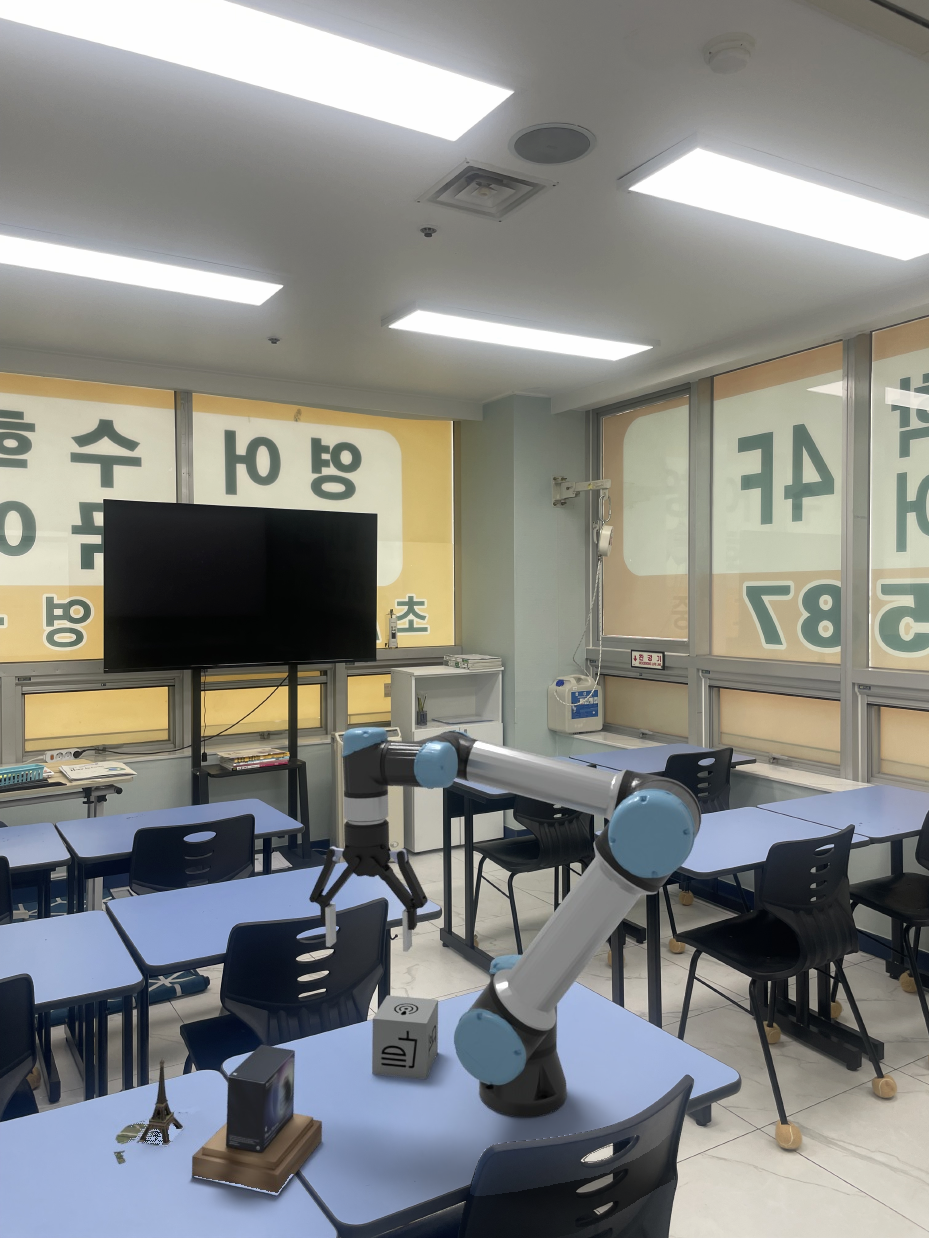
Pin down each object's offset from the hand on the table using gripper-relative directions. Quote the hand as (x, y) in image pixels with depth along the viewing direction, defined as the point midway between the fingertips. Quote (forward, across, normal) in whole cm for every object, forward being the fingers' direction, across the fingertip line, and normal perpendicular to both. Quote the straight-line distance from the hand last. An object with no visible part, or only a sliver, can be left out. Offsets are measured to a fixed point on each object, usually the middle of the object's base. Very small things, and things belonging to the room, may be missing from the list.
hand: (369, 946), depth 146 cm
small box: (+23, +12, +17) cm, 31 cm away
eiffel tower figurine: (+27, +30, +15) cm, 43 cm away
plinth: (+26, +12, +17) cm, 34 cm away
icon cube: (+27, -1, -16) cm, 31 cm away
